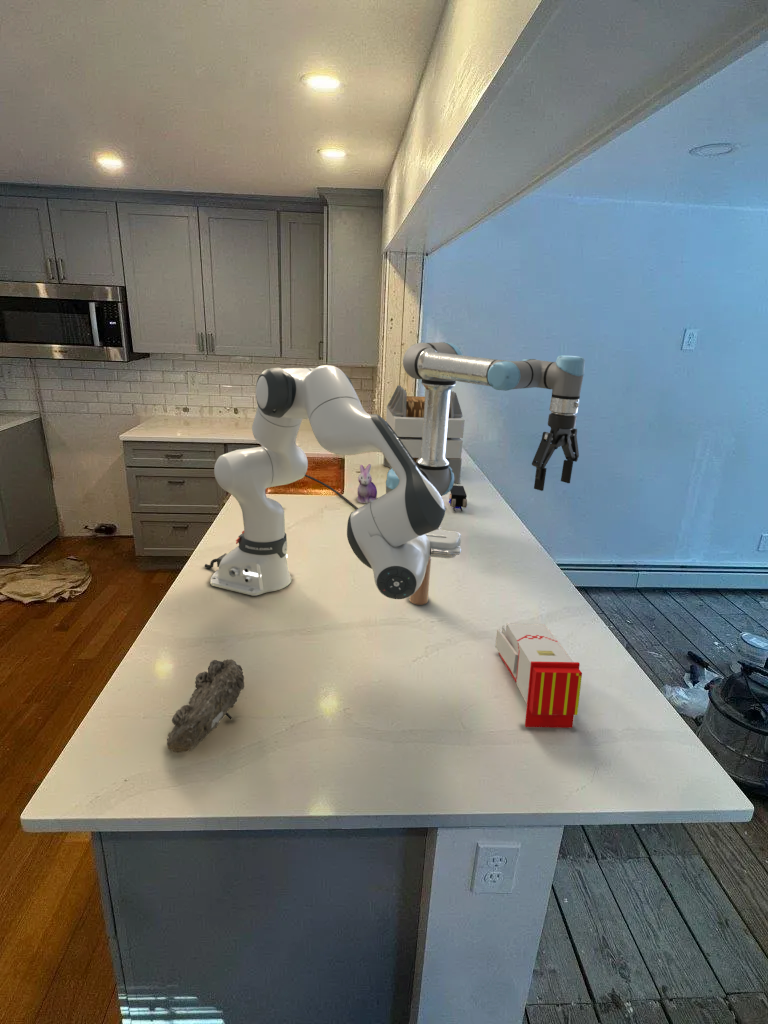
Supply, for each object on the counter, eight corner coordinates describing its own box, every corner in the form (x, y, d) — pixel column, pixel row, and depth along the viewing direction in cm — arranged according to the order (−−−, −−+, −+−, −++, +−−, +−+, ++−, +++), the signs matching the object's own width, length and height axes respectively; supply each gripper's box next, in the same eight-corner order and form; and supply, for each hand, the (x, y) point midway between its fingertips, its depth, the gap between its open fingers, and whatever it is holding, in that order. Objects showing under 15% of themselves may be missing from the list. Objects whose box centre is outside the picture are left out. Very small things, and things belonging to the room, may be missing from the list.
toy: (542, 608, 134) (591, 669, 104) (537, 660, 136) (583, 734, 107) (491, 607, 133) (526, 668, 104) (487, 660, 136) (520, 733, 107)
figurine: (361, 505, 226) (362, 469, 221) (351, 497, 235) (351, 462, 230) (382, 502, 231) (384, 467, 226) (371, 495, 239) (372, 460, 234)
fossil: (192, 660, 117) (244, 628, 112) (224, 691, 120) (276, 661, 115) (142, 746, 98) (202, 712, 93) (182, 779, 101) (242, 748, 96)
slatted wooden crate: (382, 463, 289) (386, 382, 275) (445, 464, 293) (451, 384, 279) (390, 482, 257) (394, 392, 243) (460, 483, 261) (468, 394, 247)
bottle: (422, 594, 158) (426, 536, 152) (431, 602, 154) (436, 543, 148) (405, 597, 156) (409, 538, 150) (414, 606, 152) (419, 545, 146)
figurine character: (467, 516, 223) (461, 500, 237) (469, 499, 220) (463, 483, 233) (450, 516, 223) (446, 499, 236) (452, 498, 220) (447, 483, 233)
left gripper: (461, 540, 111) (464, 518, 124) (359, 530, 114) (372, 510, 127) (459, 570, 113) (461, 545, 126) (358, 559, 116) (371, 536, 129)
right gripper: (548, 419, 148) (537, 496, 155) (598, 411, 163) (586, 482, 171) (525, 414, 153) (515, 489, 160) (575, 407, 169) (564, 476, 176)
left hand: (416, 527), depth 126 cm, fingers open, 8 cm apart
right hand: (552, 485), depth 166 cm, fingers open, 13 cm apart
